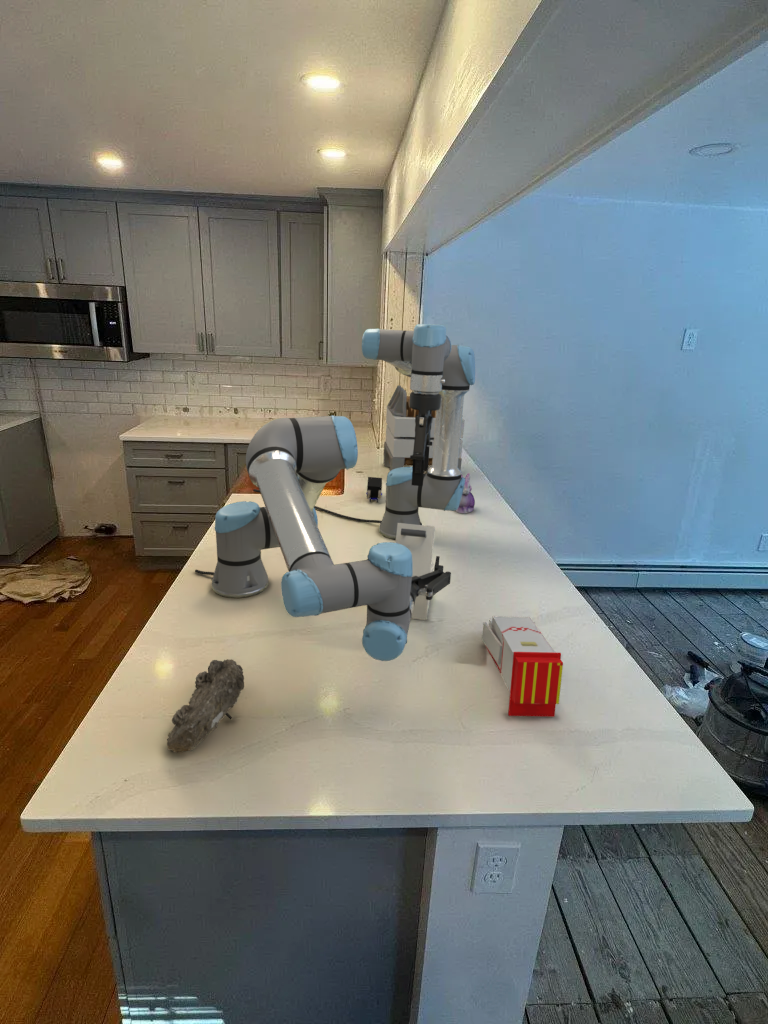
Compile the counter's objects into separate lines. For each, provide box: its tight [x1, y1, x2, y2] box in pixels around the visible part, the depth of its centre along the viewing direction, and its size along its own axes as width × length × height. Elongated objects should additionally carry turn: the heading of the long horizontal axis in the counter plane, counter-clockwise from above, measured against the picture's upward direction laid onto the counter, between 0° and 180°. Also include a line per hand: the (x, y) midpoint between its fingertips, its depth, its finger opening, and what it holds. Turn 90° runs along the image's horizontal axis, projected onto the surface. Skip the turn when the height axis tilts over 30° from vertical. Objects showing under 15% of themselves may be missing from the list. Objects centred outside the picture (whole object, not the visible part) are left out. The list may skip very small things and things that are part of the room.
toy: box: [481, 615, 564, 718], centre depth 123 cm, size 12×13×30 cm
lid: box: [395, 523, 436, 577], centre depth 140 cm, size 15×10×8 cm
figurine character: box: [365, 476, 383, 503], centre depth 234 cm, size 7×8×15 cm
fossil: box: [166, 658, 245, 754], centre depth 106 cm, size 22×10×15 cm
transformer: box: [383, 384, 465, 472], centre depth 268 cm, size 34×33×41 cm
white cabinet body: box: [411, 563, 434, 621], centre depth 151 cm, size 14×10×10 cm
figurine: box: [455, 472, 476, 514], centre depth 224 cm, size 9×10×15 cm
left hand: (407, 558), depth 130 cm, fingers open, 13 cm apart
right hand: (420, 477), depth 142 cm, fingers open, 13 cm apart
